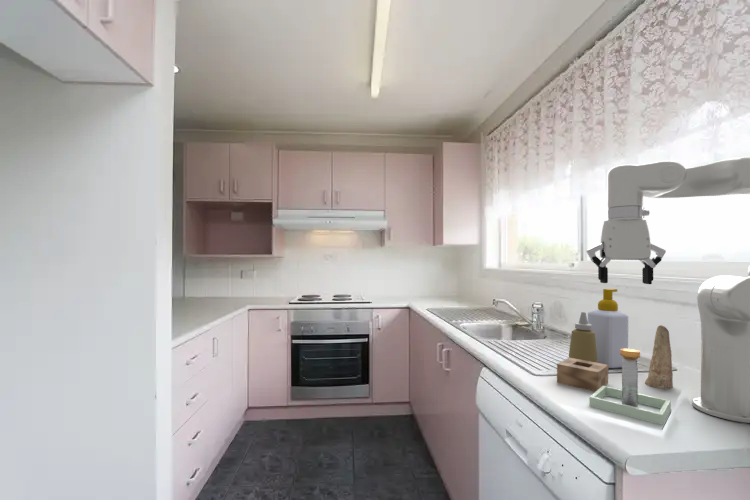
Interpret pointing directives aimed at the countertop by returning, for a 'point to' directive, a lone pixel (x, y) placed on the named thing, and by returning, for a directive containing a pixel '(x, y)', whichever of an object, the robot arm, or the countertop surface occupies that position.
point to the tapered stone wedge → (661, 361)
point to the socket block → (582, 374)
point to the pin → (630, 376)
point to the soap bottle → (609, 330)
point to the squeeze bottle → (583, 341)
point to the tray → (631, 411)
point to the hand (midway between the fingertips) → (625, 283)
